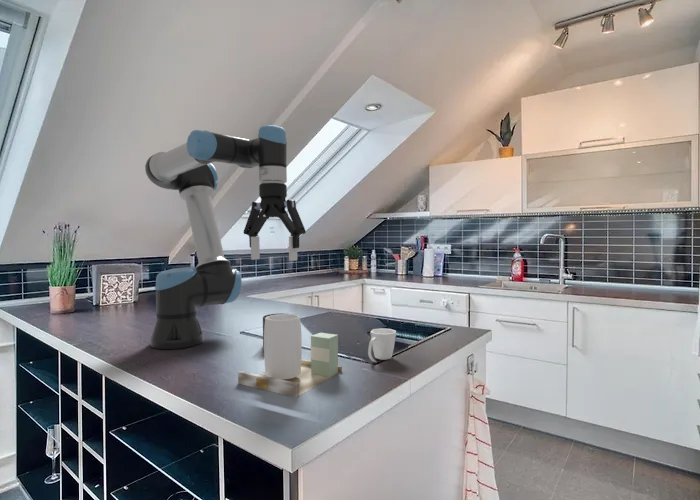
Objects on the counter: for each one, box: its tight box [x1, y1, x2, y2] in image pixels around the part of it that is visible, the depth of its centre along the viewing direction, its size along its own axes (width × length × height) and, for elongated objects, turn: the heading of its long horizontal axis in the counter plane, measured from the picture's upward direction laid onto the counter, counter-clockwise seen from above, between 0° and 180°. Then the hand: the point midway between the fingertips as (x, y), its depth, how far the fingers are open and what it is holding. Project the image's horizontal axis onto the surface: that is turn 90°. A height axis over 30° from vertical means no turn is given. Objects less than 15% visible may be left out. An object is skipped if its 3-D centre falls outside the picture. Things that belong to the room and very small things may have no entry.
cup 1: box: [263, 313, 303, 380], centre depth 92 cm, size 8×8×14 cm
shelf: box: [237, 358, 343, 398], centre depth 94 cm, size 16×18×3 cm
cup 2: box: [367, 327, 397, 363], centre depth 107 cm, size 7×10×8 cm
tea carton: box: [310, 332, 339, 377], centre depth 96 cm, size 5×4×9 cm
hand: (273, 260), depth 113 cm, fingers open, 13 cm apart
